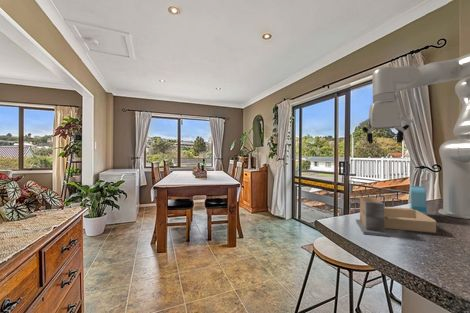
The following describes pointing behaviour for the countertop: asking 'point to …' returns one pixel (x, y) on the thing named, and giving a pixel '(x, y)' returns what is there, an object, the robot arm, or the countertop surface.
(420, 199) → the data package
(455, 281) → the countertop surface
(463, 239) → the countertop surface
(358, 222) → the mat
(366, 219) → the walnut box
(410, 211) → the carton
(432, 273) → the countertop surface
